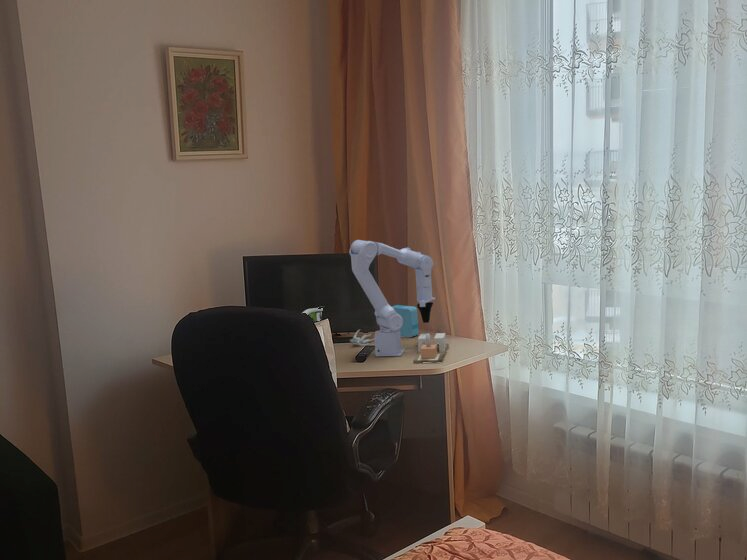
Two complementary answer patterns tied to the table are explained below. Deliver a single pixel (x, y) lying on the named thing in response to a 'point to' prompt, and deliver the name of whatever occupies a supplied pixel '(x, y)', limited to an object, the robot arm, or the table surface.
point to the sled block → (428, 349)
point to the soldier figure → (361, 339)
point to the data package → (408, 320)
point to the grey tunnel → (437, 338)
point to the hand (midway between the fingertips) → (426, 322)
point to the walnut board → (438, 358)
